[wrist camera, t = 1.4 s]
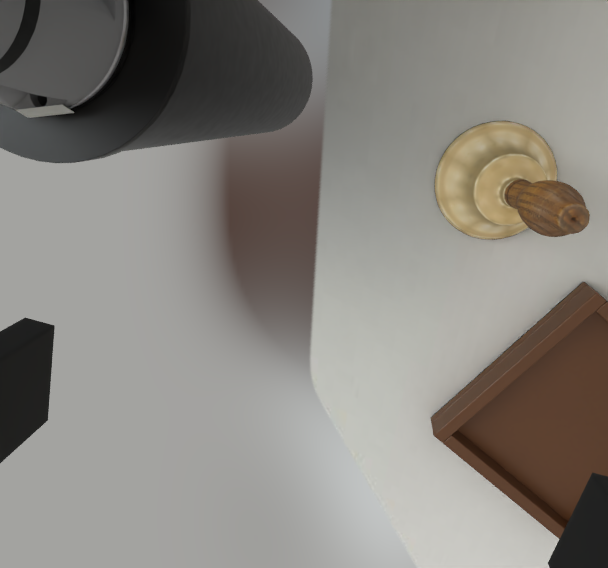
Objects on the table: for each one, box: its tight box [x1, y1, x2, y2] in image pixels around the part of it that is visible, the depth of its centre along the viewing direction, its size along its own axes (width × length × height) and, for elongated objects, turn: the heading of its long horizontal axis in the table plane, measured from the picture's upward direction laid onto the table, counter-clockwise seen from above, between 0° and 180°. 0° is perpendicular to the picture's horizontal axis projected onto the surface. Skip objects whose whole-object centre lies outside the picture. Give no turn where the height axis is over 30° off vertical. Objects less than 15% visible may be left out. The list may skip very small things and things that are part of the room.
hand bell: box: [435, 121, 590, 239], centre depth 30 cm, size 8×8×16 cm
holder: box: [431, 282, 608, 539], centre depth 41 cm, size 16×16×3 cm
